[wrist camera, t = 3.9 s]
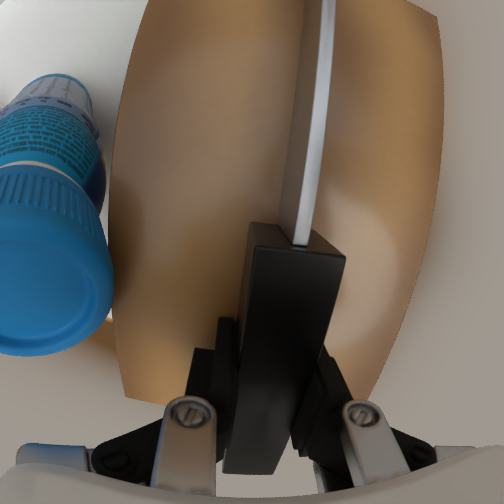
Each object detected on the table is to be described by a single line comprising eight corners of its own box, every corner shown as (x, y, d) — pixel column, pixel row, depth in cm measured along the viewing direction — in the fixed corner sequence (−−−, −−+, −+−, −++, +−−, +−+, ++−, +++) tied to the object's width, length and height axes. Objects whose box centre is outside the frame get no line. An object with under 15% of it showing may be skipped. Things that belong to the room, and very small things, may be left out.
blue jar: (80, 54, 15) (73, 112, 4) (104, 134, 21) (173, 313, 11) (-4, 102, 12) (-116, 286, 1) (29, 175, 19) (25, 386, 8)
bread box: (341, 83, 20) (437, 16, 6) (307, 299, 25) (361, 411, 12) (202, 61, 19) (166, -43, 5) (177, 285, 24) (125, 397, 11)
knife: (267, 427, 12) (273, 475, 9) (223, 425, 12) (222, 474, 9) (340, -27, 6) (364, -66, 3) (286, -39, 6) (299, -84, 3)
